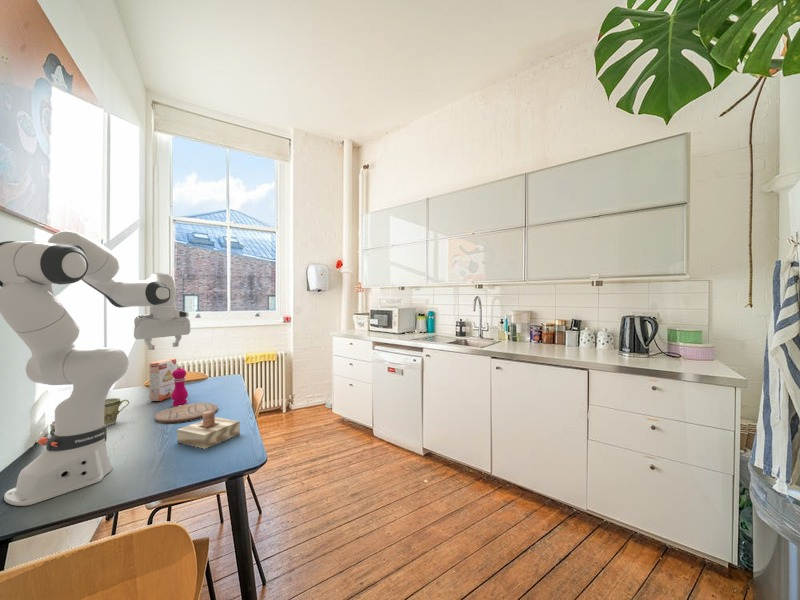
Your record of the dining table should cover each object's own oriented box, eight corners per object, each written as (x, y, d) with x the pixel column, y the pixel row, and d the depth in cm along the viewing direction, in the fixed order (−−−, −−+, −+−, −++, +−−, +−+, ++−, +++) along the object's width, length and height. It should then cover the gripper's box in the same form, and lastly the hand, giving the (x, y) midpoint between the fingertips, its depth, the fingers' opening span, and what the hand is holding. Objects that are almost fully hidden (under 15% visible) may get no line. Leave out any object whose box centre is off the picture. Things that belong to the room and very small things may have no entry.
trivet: (157, 428, 145) (157, 424, 145) (153, 414, 165) (153, 410, 165) (222, 415, 161) (222, 411, 161) (212, 403, 180) (212, 399, 180)
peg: (208, 441, 130) (207, 414, 130) (200, 439, 131) (200, 413, 131) (217, 437, 133) (216, 411, 133) (210, 435, 135) (209, 410, 135)
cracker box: (160, 402, 183) (159, 362, 183) (148, 402, 183) (148, 363, 183) (177, 394, 197) (176, 358, 197) (167, 395, 197) (166, 358, 197)
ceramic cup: (90, 430, 144) (90, 406, 144) (90, 424, 151) (90, 401, 151) (130, 422, 152) (129, 399, 152) (128, 417, 160) (128, 395, 160)
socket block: (204, 449, 123) (204, 435, 123) (177, 442, 129) (177, 429, 129) (239, 434, 136) (239, 421, 136) (213, 428, 142) (213, 416, 142)
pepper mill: (168, 405, 177) (167, 366, 177) (183, 401, 183) (182, 364, 183) (176, 407, 174) (176, 367, 174) (191, 403, 180) (190, 365, 180)
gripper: (139, 315, 128) (140, 352, 128) (192, 312, 147) (193, 345, 147) (129, 315, 131) (130, 351, 131) (182, 312, 149) (183, 344, 149)
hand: (163, 348), depth 139 cm, fingers open, 8 cm apart
